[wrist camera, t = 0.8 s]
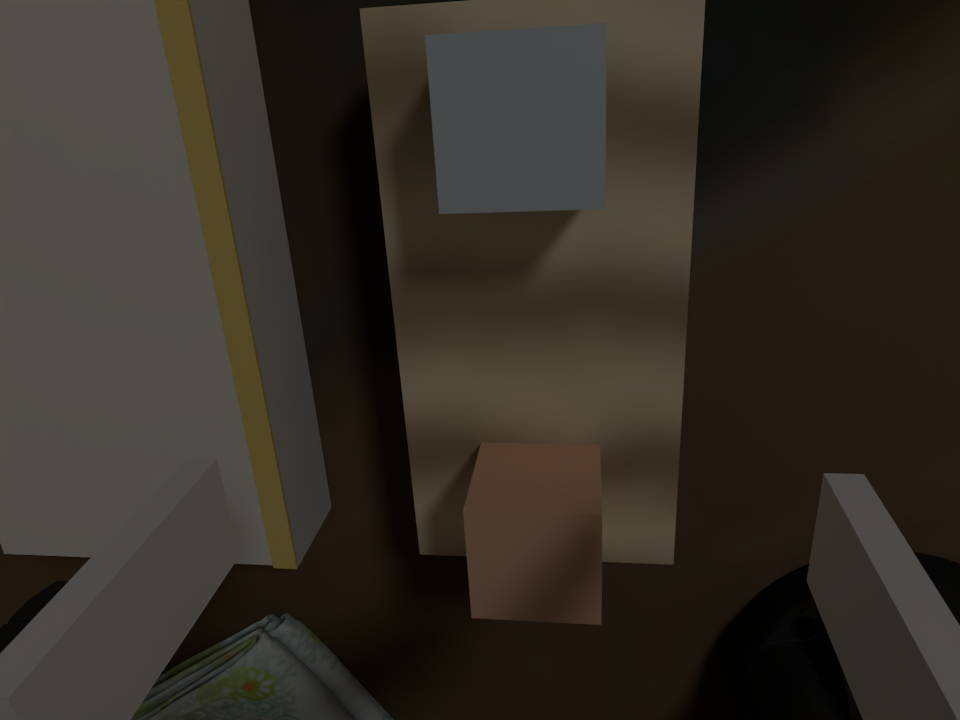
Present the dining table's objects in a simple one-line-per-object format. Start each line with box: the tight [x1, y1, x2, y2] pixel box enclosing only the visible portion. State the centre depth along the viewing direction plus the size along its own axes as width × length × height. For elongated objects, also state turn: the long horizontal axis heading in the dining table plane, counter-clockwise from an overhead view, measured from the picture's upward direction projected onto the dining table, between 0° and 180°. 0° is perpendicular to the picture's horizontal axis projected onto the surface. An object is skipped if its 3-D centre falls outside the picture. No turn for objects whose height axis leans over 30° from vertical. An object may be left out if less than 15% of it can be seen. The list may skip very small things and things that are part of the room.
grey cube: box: [425, 23, 607, 214], centre depth 22 cm, size 5×5×5 cm
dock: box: [0, 0, 331, 569], centre depth 34 cm, size 26×16×5 cm, turn 3°
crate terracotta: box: [463, 442, 602, 625], centre depth 28 cm, size 5×5×5 cm
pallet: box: [360, 0, 705, 564], centre depth 30 cm, size 22×11×6 cm, turn 3°
